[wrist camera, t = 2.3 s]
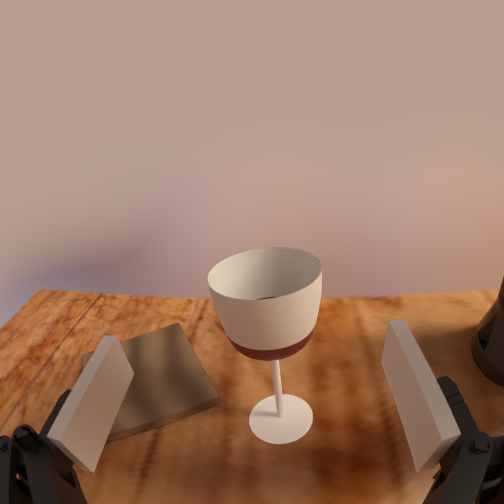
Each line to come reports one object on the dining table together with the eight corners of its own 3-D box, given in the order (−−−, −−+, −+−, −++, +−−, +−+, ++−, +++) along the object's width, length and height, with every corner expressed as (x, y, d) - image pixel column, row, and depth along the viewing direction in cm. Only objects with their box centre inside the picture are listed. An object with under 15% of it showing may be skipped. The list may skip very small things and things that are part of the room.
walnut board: (180, 329, 49) (178, 322, 49) (221, 402, 34) (219, 395, 34) (86, 361, 43) (82, 354, 42) (94, 445, 28) (89, 439, 27)
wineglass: (325, 437, 28) (336, 287, 19) (246, 450, 28) (205, 307, 19) (310, 387, 35) (307, 241, 27) (241, 398, 35) (209, 256, 26)
